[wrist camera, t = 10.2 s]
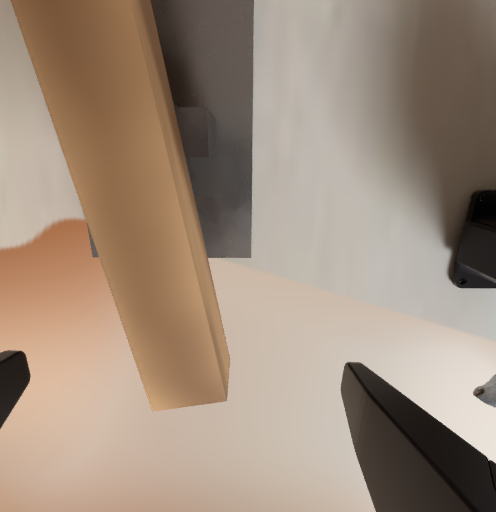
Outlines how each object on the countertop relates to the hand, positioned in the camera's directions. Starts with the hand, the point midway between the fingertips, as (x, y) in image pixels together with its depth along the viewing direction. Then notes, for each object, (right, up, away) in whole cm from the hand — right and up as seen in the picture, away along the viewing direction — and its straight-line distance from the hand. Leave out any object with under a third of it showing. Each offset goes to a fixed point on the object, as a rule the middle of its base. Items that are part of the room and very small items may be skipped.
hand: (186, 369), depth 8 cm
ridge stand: (-3, +10, +9) cm, 14 cm away
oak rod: (-3, +8, +4) cm, 10 cm away
